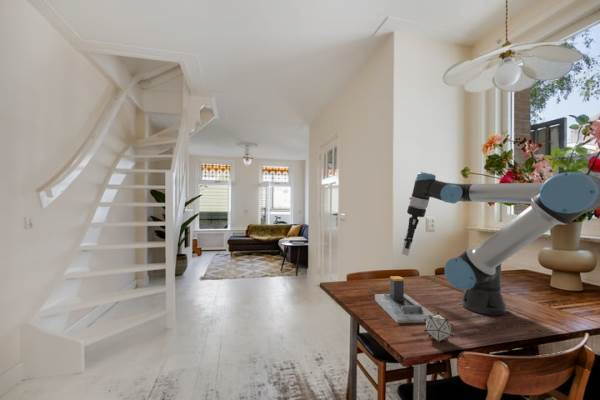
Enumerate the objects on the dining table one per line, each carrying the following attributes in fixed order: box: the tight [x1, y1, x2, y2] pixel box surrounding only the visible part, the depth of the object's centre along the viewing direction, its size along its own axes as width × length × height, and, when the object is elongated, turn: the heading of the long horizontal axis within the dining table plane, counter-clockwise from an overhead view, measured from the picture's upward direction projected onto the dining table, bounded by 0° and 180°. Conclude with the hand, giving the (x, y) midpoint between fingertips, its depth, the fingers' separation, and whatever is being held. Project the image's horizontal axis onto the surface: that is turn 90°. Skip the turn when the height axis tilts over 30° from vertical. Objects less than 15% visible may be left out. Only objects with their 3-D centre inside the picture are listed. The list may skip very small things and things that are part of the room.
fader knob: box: [389, 275, 405, 301], centre depth 117 cm, size 5×5×9 cm
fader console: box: [374, 292, 435, 324], centre depth 112 cm, size 24×14×4 cm, turn 4°
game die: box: [423, 311, 455, 345], centre depth 87 cm, size 9×8×10 cm
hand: (405, 249), depth 131 cm, fingers open, 13 cm apart
